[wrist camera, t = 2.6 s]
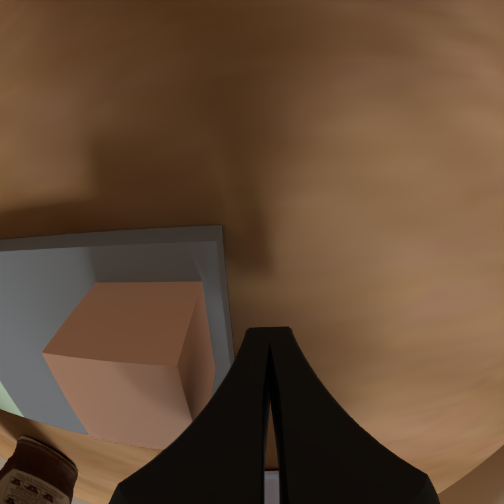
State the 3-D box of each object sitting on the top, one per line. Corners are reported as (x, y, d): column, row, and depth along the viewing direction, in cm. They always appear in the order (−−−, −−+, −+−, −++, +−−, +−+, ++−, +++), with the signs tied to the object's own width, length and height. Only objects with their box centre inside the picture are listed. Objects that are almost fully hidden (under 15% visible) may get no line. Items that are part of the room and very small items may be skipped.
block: (215, 369, 12) (202, 453, 9) (123, 364, 12) (91, 437, 9) (202, 281, 11) (176, 365, 7) (96, 282, 11) (41, 352, 7)
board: (243, 430, 16) (240, 479, 13) (-24, 384, 17) (-43, 410, 14) (221, 224, 11) (208, 267, 8) (-87, 249, 12) (-116, 270, 9)
